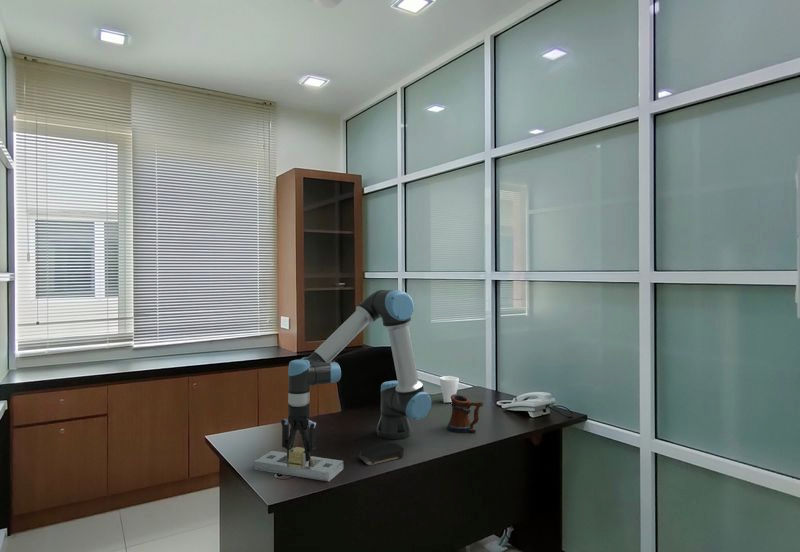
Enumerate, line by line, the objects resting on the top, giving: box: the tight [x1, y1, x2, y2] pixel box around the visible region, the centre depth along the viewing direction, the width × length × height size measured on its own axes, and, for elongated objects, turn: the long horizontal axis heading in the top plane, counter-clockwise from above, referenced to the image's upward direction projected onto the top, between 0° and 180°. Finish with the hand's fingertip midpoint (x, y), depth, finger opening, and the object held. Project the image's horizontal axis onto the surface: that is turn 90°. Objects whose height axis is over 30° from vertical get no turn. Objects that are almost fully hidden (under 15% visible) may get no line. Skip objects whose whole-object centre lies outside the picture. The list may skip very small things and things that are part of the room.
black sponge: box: [359, 442, 405, 466], centre depth 182 cm, size 16×8×4 cm, turn 121°
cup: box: [439, 375, 460, 403], centre depth 263 cm, size 10×10×14 cm
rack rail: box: [253, 450, 344, 482], centre depth 172 cm, size 30×11×3 cm, turn 71°
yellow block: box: [289, 446, 305, 466], centre depth 172 cm, size 5×5×7 cm
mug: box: [447, 393, 484, 434], centre depth 216 cm, size 18×12×15 cm, turn 45°
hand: (298, 468), depth 172 cm, fingers closed on yellow block, 5 cm apart
